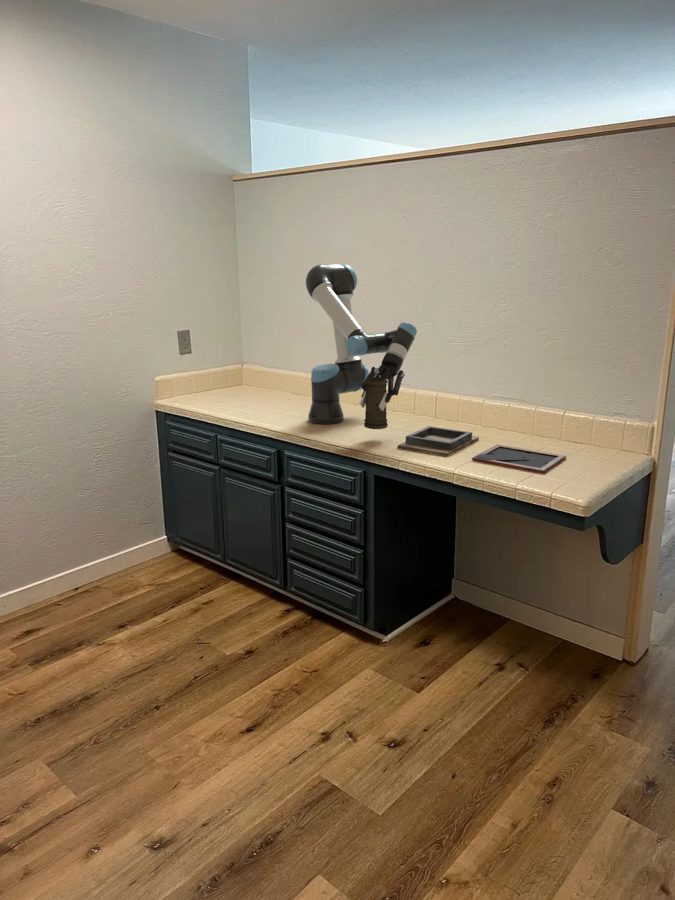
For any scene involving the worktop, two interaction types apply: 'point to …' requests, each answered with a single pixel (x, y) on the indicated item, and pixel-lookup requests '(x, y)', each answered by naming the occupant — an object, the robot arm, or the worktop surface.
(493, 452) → the picture frame
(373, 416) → the container
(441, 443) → the holder
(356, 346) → the robot arm
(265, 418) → the worktop surface
